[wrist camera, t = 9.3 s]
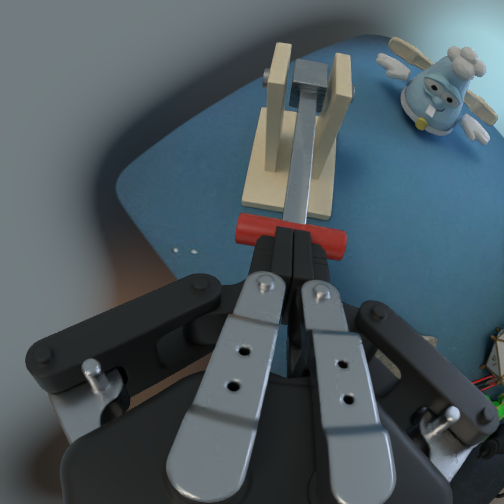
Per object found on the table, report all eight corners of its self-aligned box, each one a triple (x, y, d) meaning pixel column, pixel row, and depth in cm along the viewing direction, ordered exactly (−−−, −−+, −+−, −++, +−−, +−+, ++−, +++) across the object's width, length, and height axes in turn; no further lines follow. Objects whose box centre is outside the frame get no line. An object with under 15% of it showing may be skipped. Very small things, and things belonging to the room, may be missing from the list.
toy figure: (347, 102, 29) (384, 1, 14) (379, 66, 30) (412, -15, 16) (459, 189, 26) (541, 126, 12) (474, 139, 28) (534, 79, 13)
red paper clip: (450, 405, 21) (447, 403, 22) (522, 374, 21) (519, 373, 21) (452, 388, 22) (449, 387, 22) (524, 360, 21) (521, 359, 22)
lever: (334, 266, 14) (349, 253, 12) (236, 249, 14) (233, 233, 12) (340, 92, 18) (348, 68, 16) (273, 80, 18) (275, 54, 16)
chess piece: (485, 440, 20) (456, 455, 18) (507, 415, 19) (485, 426, 16) (500, 459, 16) (475, 481, 13) (524, 434, 15) (506, 452, 12)
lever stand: (327, 221, 26) (379, 148, 13) (242, 206, 26) (229, 120, 14) (334, 126, 28) (367, 37, 16) (261, 114, 29) (262, 18, 16)
